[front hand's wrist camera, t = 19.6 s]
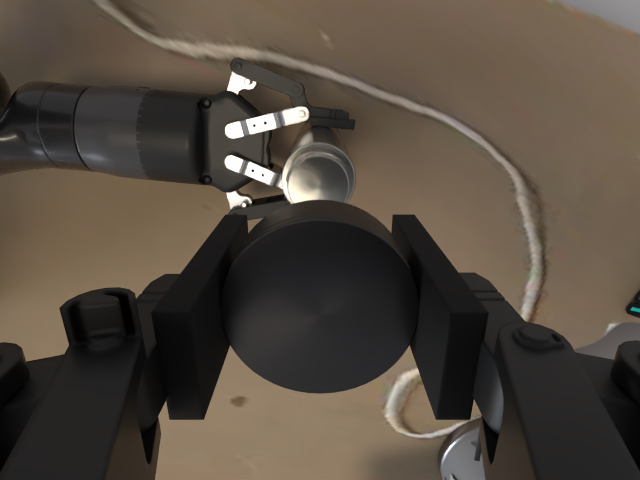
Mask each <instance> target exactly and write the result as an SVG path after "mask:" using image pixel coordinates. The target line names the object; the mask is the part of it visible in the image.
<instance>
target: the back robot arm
mask: <svg viewBox="0 0 640 480" xmlns="http://www.w3.org/2000/svg"><path fill="white" fill-rule="evenodd" d="M230 66H231V70H232V74H231V78H230V81H229V85H228V88H227V91H223V92H220V93H218V94H216V95H205V94H195V93H185V92H175V91H165V90H156V89H150V88H147V87H138V88H136V87H125V86H111V87H93V86H84V85H74V84H64V83H54V82H30V83H27V84H25V85H23V86H21V87H20V88H18V89H17V90H16V92H15V93H14V94H13V95H12V97H11V92H10V88H9V86H8V83H7V81H6V79H5V78H4V76H3V75H2V74H1V72H0V175H4V174H9V173H14V172H19V171H26V170H34V169H43V168H59V169H70V170H81V171H91V172H101V173H106V174H110V175H115V176H119V177H126V178H136V179H146V180H157V181H168V182H179V183H189V184H200V185H211V186H214V187H216V188H218V189H219V190H221V191H223V192H226V194H227V198H228V202H229V205H230V209H231V210H230V212H229V214H228V215H247V220H252V219H258V218H264V217H266V216H268V215H269V214H271V213H272V212H274V211H276V210H278V209H280V208H282V207H284V206H287V205H290V202H289V201H288V200H287V198H286V196H285V195H284V194H282V195H276V196H270V197H265V198H259V199H253V197H252V196H251V195H249V194H242V193H241V192H239V190H238V189H239V188H241V187H243V186H244V185H246V184H248V183H249V182H251V181H253V180H254V179H256V180H258V181H260V182H263V183H265V184H268V185H270V186H276V187H279V188H281V189H282V185H281V174H282V169H283V168H282V167H281V166H280V165H277V164H275V163H273V162H270V161H271V153H270V148H269V143H270V140H271V137H272V129H276V128H280V127H283V126H287V125H291V124H295V123H300V122H307V123H310V126H321V127H330V128H341V129H352V130H353V129H354V126H355V120H353V119H348V116H349V114H348V113H347V112H345V111H343V110H339V109H329V108H319V107H312V106H311V105H309V103H308V102H307V99H306V95H305V91H304V86H303V85H302V84H301V83H300V82H297V81H295V80H292V79H290V78H287V77H285V76H283V75H280V74H278V73H275V72H273V71H270V70H268V69H266V68H263V67H261V66H258V65H256V64H253V63H251V62H249V61H246V60H244V59H241V58H235V59H233V60H232V62H231V65H230ZM258 83H259V84H262V85H264V86H266V87H269V88H271V89H274V90H276V91H279V92H281V93H284V94H286V95H289V96H290V99H291V103H292V106H293V107H292V108H287V109H283V110H278V111H274V112H270V113H266V114H261V113H260V112H259V111H258V110H257V109H256V108H255V107H253V106H252V105H251V104H250V103H249V102H248V101H247V100H246V99H244V98H243V97H242V96H241V95H240V92H241V91H242V90H244V89H248V90H252V89H255V88H256V87H257V84H258ZM263 174H264V175H263Z"/></svg>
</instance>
